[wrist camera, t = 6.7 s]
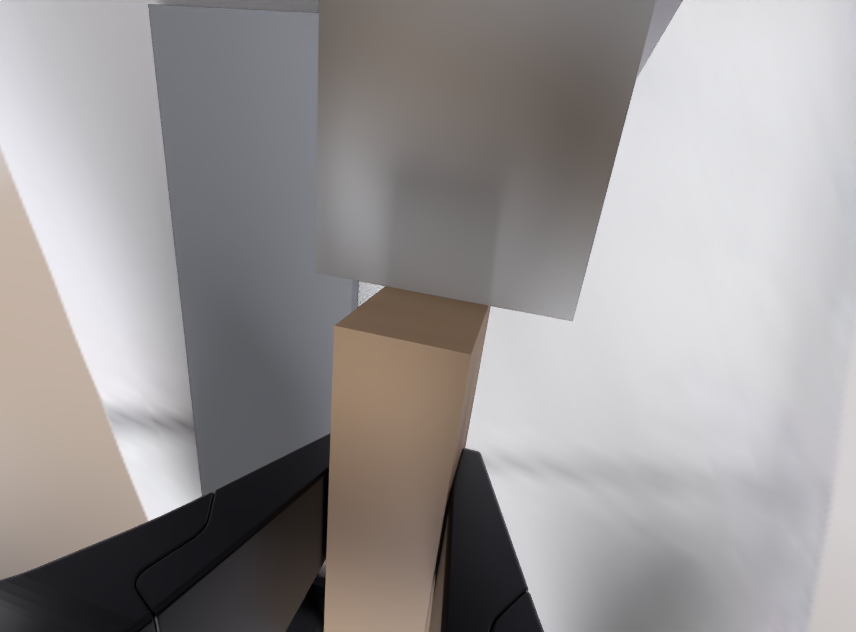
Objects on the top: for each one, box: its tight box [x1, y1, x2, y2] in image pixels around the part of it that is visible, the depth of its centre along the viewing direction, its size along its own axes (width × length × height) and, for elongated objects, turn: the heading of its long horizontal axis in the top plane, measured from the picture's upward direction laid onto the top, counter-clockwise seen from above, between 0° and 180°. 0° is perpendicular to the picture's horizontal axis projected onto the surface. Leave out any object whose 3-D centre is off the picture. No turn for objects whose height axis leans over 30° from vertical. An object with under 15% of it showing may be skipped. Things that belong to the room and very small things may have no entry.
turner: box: [315, 0, 656, 632], centre depth 7 cm, size 14×5×3 cm, turn 173°
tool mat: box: [148, 4, 359, 496], centre depth 17 cm, size 22×8×1 cm, turn 173°
